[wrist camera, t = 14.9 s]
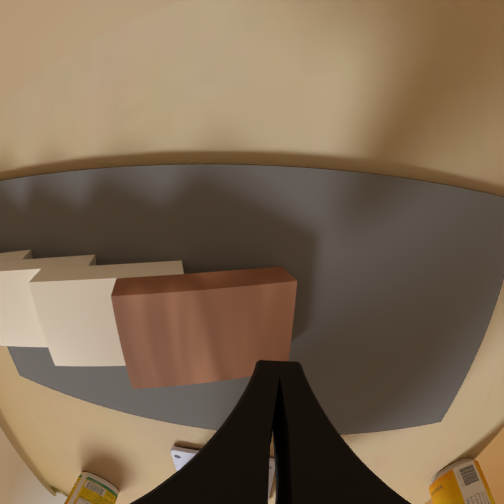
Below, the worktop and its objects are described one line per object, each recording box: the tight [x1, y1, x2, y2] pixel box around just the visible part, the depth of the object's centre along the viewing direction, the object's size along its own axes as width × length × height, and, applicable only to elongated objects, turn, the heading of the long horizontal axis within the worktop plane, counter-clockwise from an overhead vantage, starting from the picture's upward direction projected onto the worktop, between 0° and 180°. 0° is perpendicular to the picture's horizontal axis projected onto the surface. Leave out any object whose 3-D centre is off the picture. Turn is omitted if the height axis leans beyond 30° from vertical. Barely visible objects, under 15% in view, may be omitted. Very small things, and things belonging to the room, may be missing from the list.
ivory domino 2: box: [29, 260, 184, 366], centre depth 12 cm, size 2×4×7 cm
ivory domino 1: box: [0, 255, 97, 347], centre depth 13 cm, size 2×4×7 cm
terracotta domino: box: [111, 266, 297, 389], centre depth 12 cm, size 2×4×7 cm
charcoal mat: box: [0, 164, 504, 435], centre depth 15 cm, size 16×34×1 cm, turn 88°
